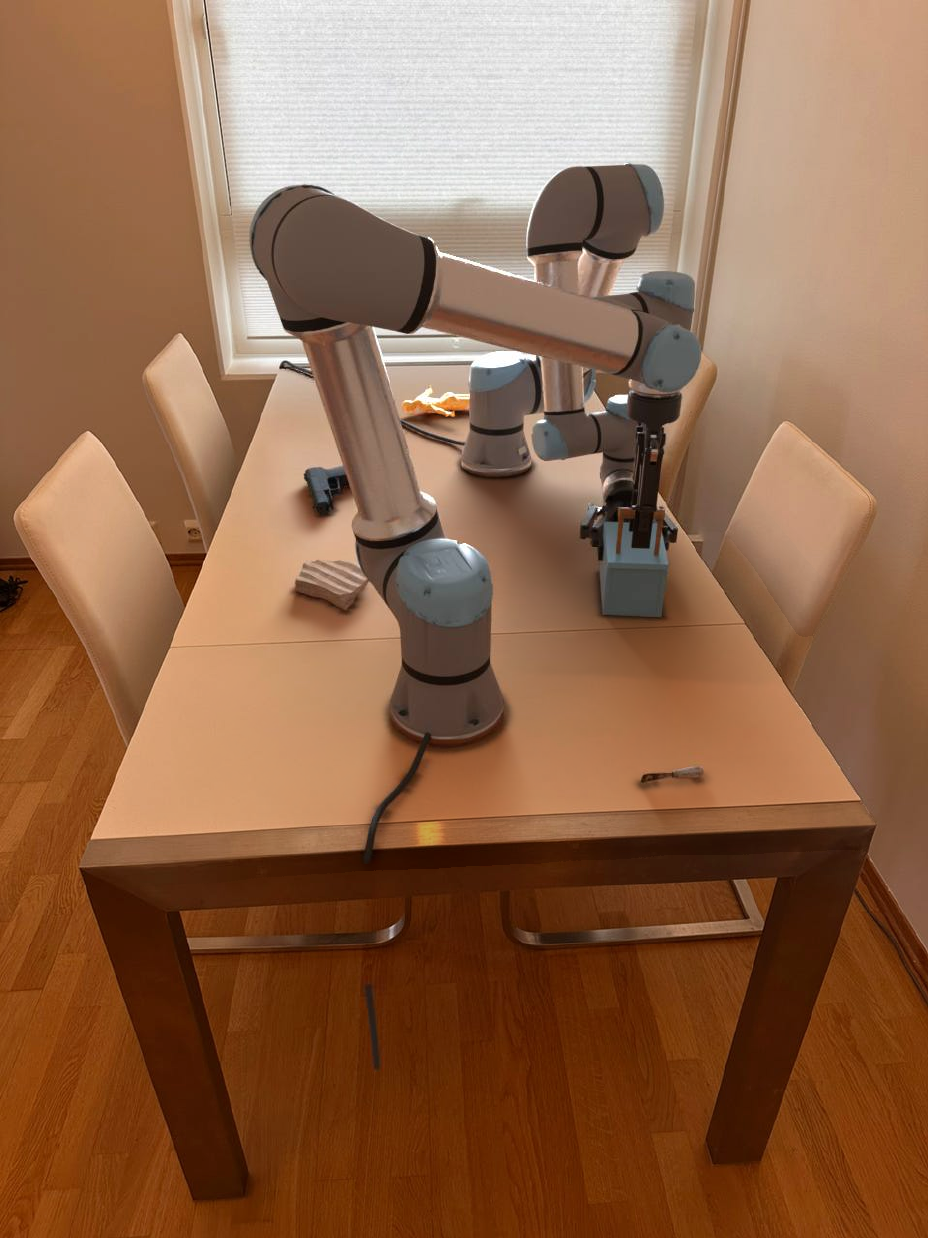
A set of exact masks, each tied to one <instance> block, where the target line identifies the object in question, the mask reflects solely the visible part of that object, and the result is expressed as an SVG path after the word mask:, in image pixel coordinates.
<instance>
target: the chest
mask: <svg viewBox="0 0 928 1238" xmlns="http://www.w3.org/2000/svg"><path fill="white" fill-rule="evenodd" d="M603 542H604V551H603V561H600V563H599V565H600V567H599V582H600V583H599V586H600V596H601V608H602V609H601V612H602V615H603V616H622V617H625V616H626V617H645V618H646V617H647V618H648V617H649V618H662V614H663V607H664V600H665V592H666V585H667V577H668V571H669V569H668V570H650V569H625V568H608V567H607V557H606V546H605V535H604V529H603Z"/></svg>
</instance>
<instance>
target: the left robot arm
mask: <svg viewBox="0 0 928 1238" xmlns="http://www.w3.org/2000/svg"><path fill="white" fill-rule="evenodd" d="M248 237H249V239H248V240H249V249H250V253H251V257H252V261H253V263H254V266H255V268H256V270H257V271H258V272H259V274H260V275H261V276H262V277H263V279H264V280H266V283H267V285H268V288H269V291H270V294H271V298H272V300H273V302H274V303H273V304H274V306H275V308H276V311H277V314H278V318H279V320H280V322H281V325H282V329H283V331H284V332H285V333H287V334H289V335H291V336H293V337H295V338H297V339H298V340H300V341H301V343H302V346H303V350H304V353H305V356H306V358H307V361H308V365H309V367H310V371H312V374H313V375H312V377H313V379H314V382H315V385H316V386H315V387H316V389H317V392H318V395H319V397H320V400H321V404H322V406H323V410H324V412H325V416H326V419H327V422H328V425H329V428H330V431H331V434H332V437H333V439H334V442H335V445H336V449H337V451H338V452H337V453H338V454H339V458H340V460H341V463H342V466H343V467H344V470H345V472H346V475H347V478H348V481H349V484H350V486H349V487H350V490H351V493H352V496H353V499H354V502H355V505H356V508H357V511H356V513H355V514H354V516H353V518H352V519H351V529H352V532H353V535H354V538H355V543H354V547H355V554H356V559H357V563H359V565H360V568H361V570H362V572H363V573H364V575H365V576H366V578H367V579H368V580H369V582H370V583H371V585H372V586H373V587H374V589H375V590H376V593H378V595H379V596H380V598H381V599H382V600H383V602H384V603H385V605H386V606H387V608H388V609H389V610H390V612H391V614H392V615H393V616H394V618H395V619H396V621H397V624H398V627H399V633H400V634H399V635H400V652H401V653H400V655H401V667H400V669H399V672H398V675H397V678H396V681H395V684H394V687H393V690H392V693H391V696H390V703H389V706H390V718H391V721H392V724H393V725H394V727H395V728H396V729H397V731H398V732H399V733H400V734H402V735H403V736H404V737H406V738H407V739H409V740H411V741H413V742H415V743H417V744H419V747H418V748H417V751H416V753H415V756H414V758H413V762H412V764H411V766H410V768H409V769H408V771H407V772H406V774H405V776H404V777H403V778H402V779H401V781H400V782H399V784H398V785H397V786H396V787H395V788H394V789H393V790H392V791H391V792H390V793H389V794H388V795H387V796H386V797H385V798H384V799H383V800H382V801H381V802H380V803H379V805H378V806H377V808H376V810H375V812H374V814H373V816H372V818H371V820H370V823H369V826H368V832H367V836H366V841H365V846H364V847H365V849H364V852H363V859H362V863H364V864H365V865H367V864H370V862H372V855H373V849H374V845H375V838H376V833H377V829H378V827H379V823H380V820H381V818H382V816H383V815H384V813H385V811H386V809H387V808H388V807H389V806H390V804H391V803H392V802H394V801H395V800H396V799H397V797H399V796H400V795H401V794H402V792H403V791H404V790H405V789H406V787H407V786H408V785H409V784H410V782H411V781H412V779H413V778H414V776H415V774H416V773H417V771H418V769H419V767H420V765H421V762H422V760H423V757H424V754H425V752H426V749H427V747H428V746H430V747H437V748H454V747H455V748H457V747H463V746H467V745H471V744H473V743H476V742H480V741H481V740H483V739H485V738H486V737H488V736H489V735H491V734H492V733H493V732H494V731H495V730H496V729H498V727H499V726H500V724H501V722H502V720H503V717H504V696H503V693H502V690H501V687H500V685H499V682H498V679H497V677H496V674H495V672H494V668H493V666H492V664H491V654H492V653H491V651H492V649H491V648H492V647H491V645H492V608H493V607H492V605H493V595H494V585H493V582H492V573H491V568H490V565H489V563H488V561H487V559H486V557H485V556H484V555H483V554H482V553H481V552H480V551H479V550H478V549H476V548H475V547H473V546H472V545H469V544H467V543H462V544H461V543H459V541H458V540H454V539H449V538H447V537H446V535H445V533H444V530H443V529H444V528H443V525H442V522H441V518H440V515H439V511H438V508H437V507H438V506H437V504H436V501H435V499H434V498H433V497H431V495H429V494H427V493H424V492H423V491H421V489H420V485H419V482H418V478H417V475H416V471H415V467H414V464H413V460H412V457H411V453H410V450H409V445H408V443H407V439H406V436H405V432H404V429H403V424H401V421H400V419H401V417H400V415H399V411H398V408H397V404H396V400H395V397H394V396H395V395H394V393H393V389H392V386H391V382H390V379H389V375H388V371H387V368H386V365H385V360H384V358H383V354H382V350H381V347H380V344H379V340H378V339H379V338H378V337H377V333H376V329H375V328H378V329H382V330H387V331H391V332H396V333H400V334H401V333H402V334H405V335H413V334H415V333H416V332H417V331H419V330H420V329H421V328H423V329H428V330H431V331H435V332H438V333H443V334H448V335H452V336H456V337H460V338H463V339H467V340H472V341H475V342H480V343H484V344H488V345H492V346H495V347H499V348H504V349H509V350H511V351H515V352H519V353H525V354H528V355H532V356H540V357H544V358H548V359H552V360H556V361H560V362H564V363H569V364H573V365H577V366H581V367H585V368H589V369H593V370H596V372H597V371H598V372H602V373H606V374H609V375H612V376H615V377H617V378H618V377H619V378H622V379H627V380H628V383H627V384H628V387H629V390H628V392H627V395H628V398H627V409H626V414H627V416H628V417H629V418H630V419H631V420H633V421H635V422H637V424H638V426H636V432H635V433H636V445H635V450H636V452H635V462H634V471H633V476H632V479H633V481H634V483H633V489H634V490H636V491H633V493H632V503H631V508H632V510H635V514H634V519H633V518H630V522H629V532H633V533H632V543H631V548H642V549H650V541H651V533H652V524H653V516H654V512H656V510H657V509H658V506H657V505H658V498H659V489H660V481H661V473H662V464H663V459H664V455H665V449H664V446H666V439H667V434H666V432H665V427H664V426H665V425H667V424H673V423H675V422H676V421H677V420H679V418H680V416H681V409H682V408H681V407H682V402H683V401H682V400H683V394H682V392H681V391H682V390H683V388H684V387H687V385H688V384H689V383H690V382H691V381H692V380H693V379H694V377H695V376H696V374H697V372H698V370H699V366H700V365H701V361H702V347H701V343H700V340H699V338H698V337H697V335H696V334H695V333H694V332H692V325H693V318H694V313H695V298H696V282H695V280H694V279H693V277H692V276H690V275H689V274H687V273H683V272H678V271H672V270H655V271H648V272H645V273H642V274H641V275H640V277H639V278H638V283H637V286H636V291H633V292H630V293H621V294H612V295H611V294H610V296H600V297H586V296H583V295H580V294H576V293H573V292H570V291H566V290H563V289H560V288H556V287H553V286H550V285H546V284H543V283H540V282H537V281H535V280H533V279H529V278H527V277H523V276H520V275H516V274H513V273H510V272H506V271H503V270H499V269H497V268H494V267H491V266H486V265H482V264H480V263H477V262H473V261H470V260H467V259H464V258H460V257H456V256H454V255H450V254H447V253H443V252H440V251H439V249H438V247H437V244H436V242H435V241H434V240H433V239H432V238H430V237H427V236H424V235H421V234H417V233H415V232H412V231H409V230H407V229H404V228H402V227H400V226H398V225H395V224H393V223H391V222H389V221H387V220H386V219H383V218H382V217H380V216H378V215H377V214H374V213H372V212H370V211H369V210H367V209H366V208H364V207H362V206H360V205H359V204H357V203H356V202H354V201H352V200H349V199H347V198H344V197H340V196H338V195H335V194H334V192H332V191H331V190H329V189H327V188H324V187H322V186H319V185H314V184H305V183H304V184H294V185H288V186H284V187H282V188H279V189H278V190H275V191H274V192H272V193H270V194H269V195H268V196H267V197H266V198H265V199H264V200H263V201H262V202H261V203H260V205H259V206H258V207H257V209H256V211H255V213H254V215H253V218H252V220H251V223H250V227H249V236H248ZM364 991H365V1000H366V1008H367V1018H368V1026H369V1033H370V1043H371V1052H372V1065H373V1069H374V1070H379V1069H380V1068H381V1059H380V1046H379V1036H378V1028H377V1027H378V1026H377V1019H376V1010H375V1009H376V1008H375V1001H374V992H373V983H367V984H365V985H364Z"/></svg>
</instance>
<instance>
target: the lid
mask: <svg viewBox="0 0 928 1238" xmlns="http://www.w3.org/2000/svg"><path fill="white" fill-rule="evenodd" d="M665 513H666V508H665V509H658V508H657V510H656V512H654V516H653V519H658V523H657V524H654V523H653V524H652V533H651V541H650V549H642V548H631V543H632V533H633V532H629V523H626V522H623V521H624V518H633V519H634V514H635V510H632V508H622V507H619V508H618V518H619V521H618V522H604V535H605V546H606V557H607V567H608V568H625V569H650V570H668V571H669V568H670V563H669V559H668V554H667V551H666V549H665V544H664V539H663V535H662V525H663V520H664V519H665Z"/></svg>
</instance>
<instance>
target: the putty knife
mask: <svg viewBox="0 0 928 1238" xmlns="http://www.w3.org/2000/svg"><path fill="white" fill-rule="evenodd" d="M704 772H705V771H704V768H702V767H701V766H697V765H695V766H688V767H683V768H679V769H675V770H673V771H671V772H653V773H652V772H651V773H650V772H649V773H644V774H642V776H641V779H640V783H642V784H645V783H648V782H653V781H659V780H665V779H668V778H673V779H674V778H675V779H693V778H694V779H695V778H700V777H702V776H703V775H704Z"/></svg>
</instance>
